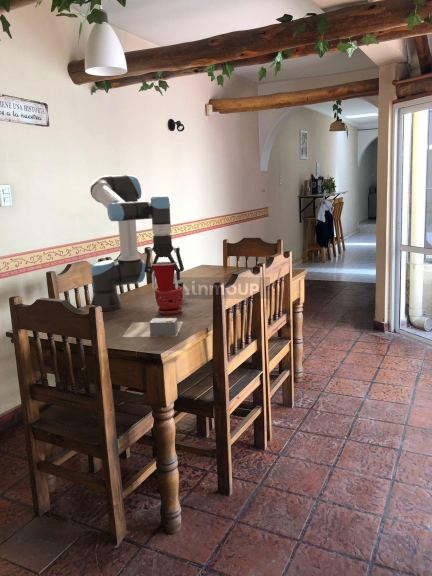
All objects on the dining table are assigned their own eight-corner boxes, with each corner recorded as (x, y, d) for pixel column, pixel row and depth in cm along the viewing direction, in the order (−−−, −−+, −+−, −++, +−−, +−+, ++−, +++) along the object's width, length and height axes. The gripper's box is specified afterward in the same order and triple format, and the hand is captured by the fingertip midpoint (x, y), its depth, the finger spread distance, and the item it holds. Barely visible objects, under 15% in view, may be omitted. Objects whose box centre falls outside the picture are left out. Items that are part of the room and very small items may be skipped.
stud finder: (150, 336, 189) (149, 321, 188) (153, 331, 195) (152, 317, 194) (175, 335, 189) (174, 321, 187) (177, 331, 195) (176, 317, 193)
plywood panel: (121, 340, 190) (121, 337, 189) (133, 325, 209) (132, 322, 209) (176, 339, 188) (176, 336, 188) (183, 324, 208) (183, 321, 208)
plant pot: (188, 310, 231) (187, 286, 228) (173, 317, 220) (171, 291, 217) (167, 307, 238) (165, 284, 235) (150, 314, 227) (148, 289, 224)
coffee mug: (181, 302, 246) (180, 283, 244) (165, 302, 248) (164, 283, 245) (187, 297, 257) (186, 279, 255) (172, 297, 259) (171, 279, 256)
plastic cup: (179, 286, 206) (177, 259, 203) (177, 292, 196) (176, 263, 193) (153, 288, 206) (151, 260, 203) (151, 293, 195) (149, 264, 193)
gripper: (133, 236, 193) (138, 290, 198) (187, 234, 191) (190, 289, 196) (137, 234, 200) (141, 287, 205) (189, 232, 199) (192, 285, 204)
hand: (165, 288), depth 201 cm, fingers closed on plastic cup, 9 cm apart
